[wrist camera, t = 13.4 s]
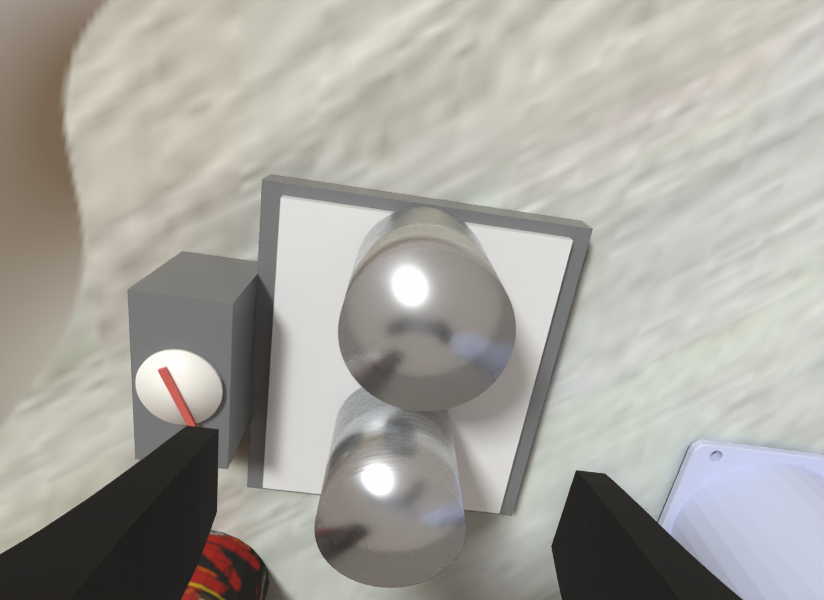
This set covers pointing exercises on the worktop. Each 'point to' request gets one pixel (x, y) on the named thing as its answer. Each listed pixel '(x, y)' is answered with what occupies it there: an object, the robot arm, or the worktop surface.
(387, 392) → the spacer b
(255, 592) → the deodorant
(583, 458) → the worktop surface
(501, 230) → the scale
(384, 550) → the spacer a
